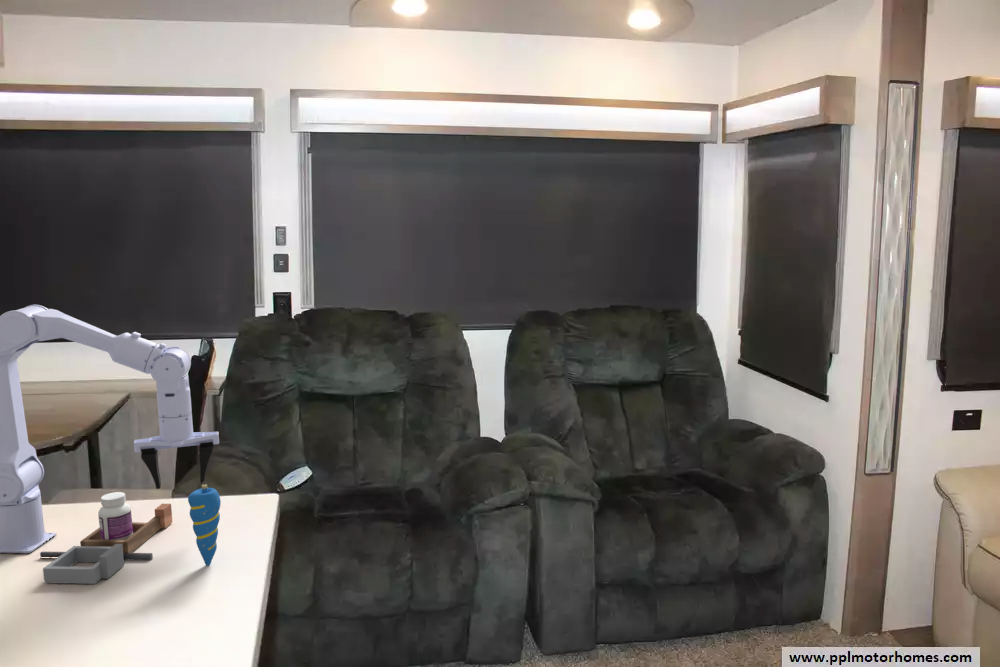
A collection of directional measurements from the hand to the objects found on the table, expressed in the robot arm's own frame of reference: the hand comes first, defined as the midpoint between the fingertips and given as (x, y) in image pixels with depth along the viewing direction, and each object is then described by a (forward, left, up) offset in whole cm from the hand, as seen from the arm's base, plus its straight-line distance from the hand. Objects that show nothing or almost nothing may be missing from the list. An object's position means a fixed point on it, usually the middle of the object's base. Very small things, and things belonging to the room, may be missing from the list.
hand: (180, 484), depth 147 cm
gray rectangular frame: (-10, -16, -10) cm, 21 cm away
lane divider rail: (-11, -11, -10) cm, 18 cm away
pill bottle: (-10, -6, -10) cm, 15 cm away
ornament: (+10, -13, -10) cm, 19 cm away
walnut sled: (-9, -3, -10) cm, 14 cm away
